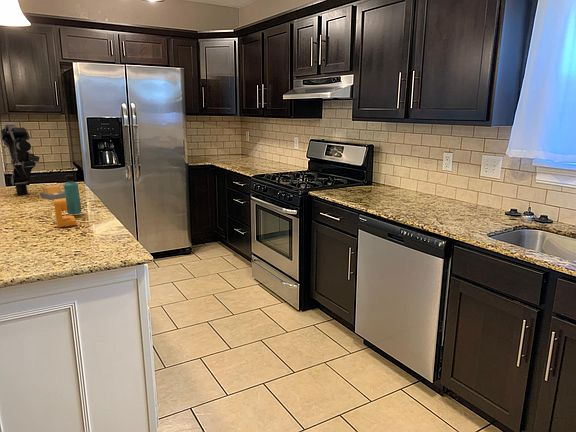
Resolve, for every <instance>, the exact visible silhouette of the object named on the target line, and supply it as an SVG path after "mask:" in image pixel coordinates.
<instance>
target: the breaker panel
mask: <svg viewBox="0 0 576 432" xmlns="http://www.w3.org/2000/svg"><path fill="white" fill-rule="evenodd" d="M64 194H65V191H64V189H61V193H55V194H45V193H43V191H41V192H39V197H41V198H44V199H46V200H50V201H51V200H53V201H54V200H55V199H65V195H64Z"/></svg>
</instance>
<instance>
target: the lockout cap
mask: <svg viewBox="0 0 576 432" xmlns="http://www.w3.org/2000/svg"><path fill="white" fill-rule="evenodd" d="M41 189H42V192H43V193H45V194H55V193H61V190H62V188H61V186H60V185H55V184H54V185H46V186H41Z"/></svg>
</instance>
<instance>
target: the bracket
mask: <svg viewBox="0 0 576 432" xmlns="http://www.w3.org/2000/svg"><path fill="white" fill-rule="evenodd" d="M53 206H54V214H55V220H56V221H55V222H56V226H57V228H63V227H71V226H77V220H76V218H75V216H74V215H66V216H63V213H62V212H65V211H66V212H67V203H66V198H60V199H53Z"/></svg>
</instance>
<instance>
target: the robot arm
mask: <svg viewBox="0 0 576 432" xmlns="http://www.w3.org/2000/svg"><path fill="white" fill-rule="evenodd" d="M30 138H31V137H30V134H29V132H28V130H27V129H26V128H25V127H24V126H23V127H19V126H18V127H17V126H16V125H15V124H6V125H4V128H3V129H1V130H0V140H1V141H2V143H3V145H4V146H5V147H6V148H7V149H8V152H9V153H8V154H9V156H10V164H11V165H12V168H13V171H12V174H11V181H10V183H11V185H12V186H15V190H16V193H14V195H16V196H18V197H20V196H25V195H31V193H30V192H29V191H28V186H27V185H30V184H31V174H32V170H33V169H34V168H35V167H36V165H37V164H36V162H37V163H39V161H40V156H37V155H35V154H34V153H31V152H30V150H31V148H32V145H31V143H30V142H29V140H30Z"/></svg>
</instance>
